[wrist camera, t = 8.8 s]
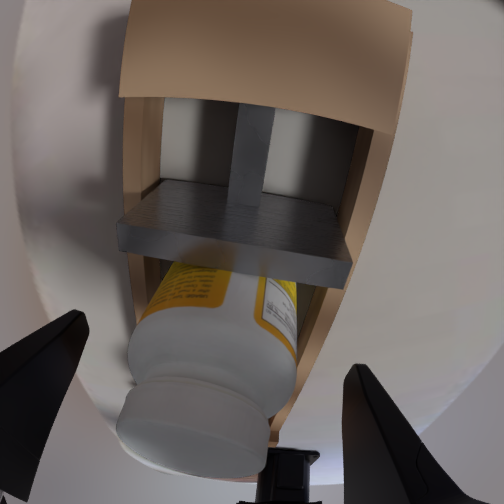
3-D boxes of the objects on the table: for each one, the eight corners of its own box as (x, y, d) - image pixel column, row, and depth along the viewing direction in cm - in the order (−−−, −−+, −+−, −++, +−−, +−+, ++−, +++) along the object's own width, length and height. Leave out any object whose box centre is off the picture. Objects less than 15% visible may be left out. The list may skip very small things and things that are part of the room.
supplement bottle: (314, 236, 13) (341, 448, 5) (268, 316, 16) (250, 491, 8) (201, 191, 13) (81, 372, 4) (174, 282, 15) (99, 446, 7)
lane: (277, 416, 22) (274, 458, 18) (163, 395, 22) (150, 435, 18) (393, 40, 8) (439, 22, 5) (159, 8, 8) (111, -17, 5)
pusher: (326, 226, 13) (343, 289, 9) (165, 200, 13) (118, 250, 9) (361, 68, 9) (406, 56, 5) (178, 43, 9) (123, 22, 5)
